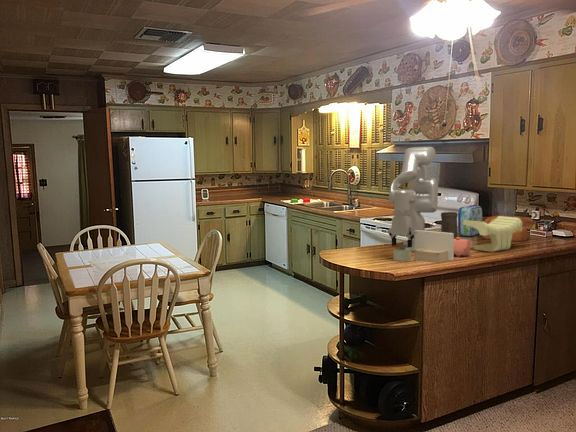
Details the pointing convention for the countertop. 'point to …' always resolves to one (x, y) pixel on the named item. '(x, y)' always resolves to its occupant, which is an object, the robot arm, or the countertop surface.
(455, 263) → the countertop surface
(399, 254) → the cabinet box
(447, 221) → the beer stein
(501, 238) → the slatted curved stool
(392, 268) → the countertop surface
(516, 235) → the bread
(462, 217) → the lunch box
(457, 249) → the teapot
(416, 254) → the beige slab with panel
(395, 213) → the robot arm
